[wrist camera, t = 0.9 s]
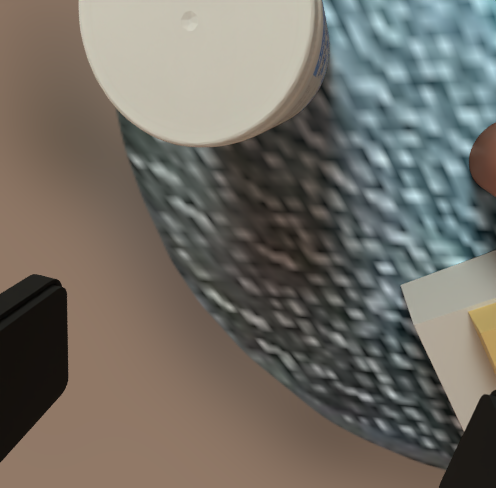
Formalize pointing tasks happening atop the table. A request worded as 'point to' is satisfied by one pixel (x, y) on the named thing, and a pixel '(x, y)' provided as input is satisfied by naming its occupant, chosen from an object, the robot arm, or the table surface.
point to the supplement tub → (206, 63)
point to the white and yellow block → (459, 328)
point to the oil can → (484, 160)
